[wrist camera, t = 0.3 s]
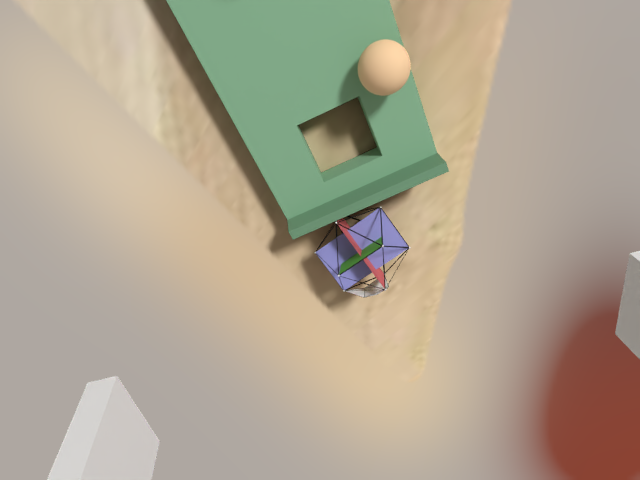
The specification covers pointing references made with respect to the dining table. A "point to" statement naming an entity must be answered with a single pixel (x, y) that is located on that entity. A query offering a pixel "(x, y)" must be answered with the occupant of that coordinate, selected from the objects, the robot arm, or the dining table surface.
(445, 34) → the dining table surface
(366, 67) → the orange ball
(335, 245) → the geometric puzzle
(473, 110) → the dining table surface
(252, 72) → the putting mat
